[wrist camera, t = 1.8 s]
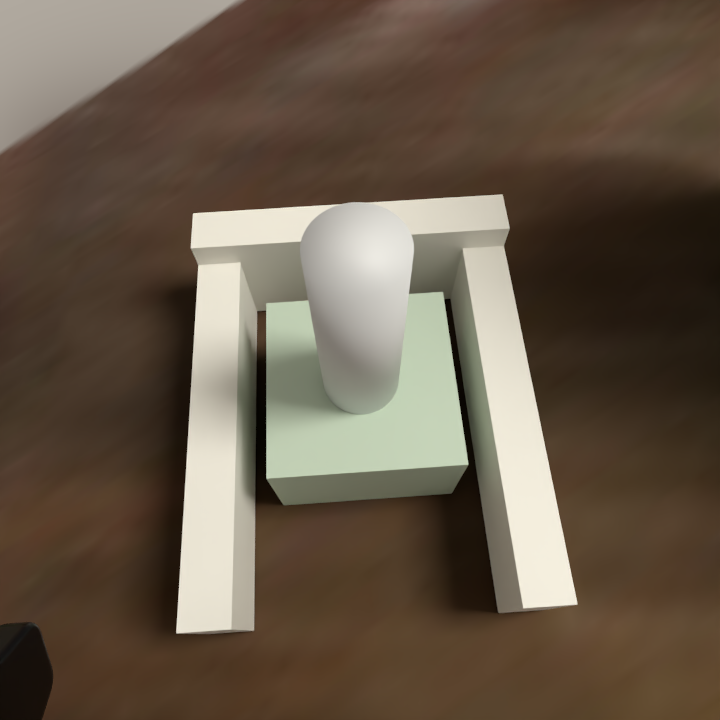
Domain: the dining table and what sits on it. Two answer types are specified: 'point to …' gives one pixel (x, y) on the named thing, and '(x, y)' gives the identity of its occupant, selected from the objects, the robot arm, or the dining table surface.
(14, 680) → the robot arm
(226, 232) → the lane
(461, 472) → the handle block
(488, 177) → the dining table surface
